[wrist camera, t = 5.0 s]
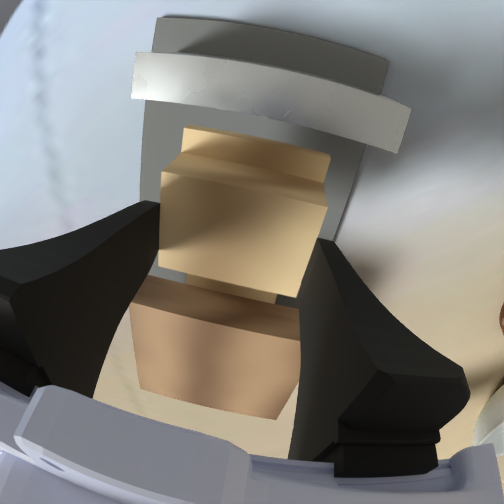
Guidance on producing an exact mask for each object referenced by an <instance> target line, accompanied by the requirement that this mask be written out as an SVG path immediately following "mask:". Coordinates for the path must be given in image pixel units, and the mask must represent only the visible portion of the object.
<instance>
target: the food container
mask: <svg viewBox="0 0 504 504" xmlns="http://www.w3.org/2000/svg"><path fill="white" fill-rule="evenodd" d="M500 326H501V329H502V332H503V335H504V303H503V306H502V308H501V312H500Z"/></svg>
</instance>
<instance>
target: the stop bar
mask: <svg viewBox="0 0 504 504" xmlns="http://www.w3.org/2000/svg"><path fill="white" fill-rule="evenodd" d="M131 98H134V99H145V100H156V101H165V102H174V103H182V104H189V105H196V106H203V107H210V108H216V109H222V110H228V111H234V112H239V113H245V114H250V115H255V116H260V117H265V118H269V119H274V120H279V121H283V122H287V123H292V124H296V125H300V126H304V127H308V128H312V129H316V130H320V131H323V132H327V133H331V134H334V135H338V136H342V137H345V138H348V139H352V140H355V141H358V142H362V143H365V144H368V145H371V146H374V147H378V148H381V149H384V150H387V151H390V152H393V153H396V154H397V153H398V150H399V147H400V144H401V141H402V138H403V135H404V132H405V129H406V126H407V123H408V120H409V117H410V113H411V110H412V109H411V108H409V107H407V106H405V105H403V104H401V103H398V102H396V101H394V100H392V99H390V98H387V97H385V96H383V95H381V94H378V93H375V92H372V91H369V90H366V89H363V88H360V87H356V86H353V85H350V84H347V83H343V82H340V81H336V80H333V79H329V78H326V77H322V76H318V75H314V74H310V73H306V72H302V71H298V70H293V69H289V68H284V67H280V66H275V65H270V64H265V63H259V62H254V61H248V60H242V59H235V58H228V57H221V56H213V55H205V54H195V53H184V52H136V57H135V64H134V73H133V82H132V92H131Z"/></svg>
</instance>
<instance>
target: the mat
mask: <svg viewBox="0 0 504 504" xmlns="http://www.w3.org/2000/svg"><path fill="white" fill-rule="evenodd" d="M152 52H184V53H195V54H205V55H213V56H221V57H228V58H235V59H242V60H248V61H254V62H259V63H265V64H270V65H275V66H280V67H284V68H289V69H293V70H298V71H302V72H306V73H310V74H314V75H318V76H322V77H326V78H329V79H333V80H336V81H340V82H343V83H347V84H350V85H353V86H356V87H360V88H363V89H366V90H369V91H372V92H375V93H378V94H381V90H382V87H383V83H384V79H385V75H386V72H387V68H388V64H389V61H388V60H385V59H382V58H380V57H377V56H374V55H371V54H368V53H365V52H362V51H359V50H356V49H353V48H349V47H346V46H343V45H339V44H336V43H332V42H328V41H325V40H321V39H317V38H313V37H309V36H305V35H300V34H296V33H291V32H286V31H281V30H276V29H271V28H265V27H259V26H253V25H246V24H239V23H231V22H223V21H213V20H201V19H186V18H157V21H156V27H155V33H154V39H153V45H152ZM189 124H190V125H196V126H202V127H208V128H214V129H220V130H225V131H231V132H236V133H241V134H246V135H251V136H256V137H261V138H265V139H270V140H274V141H279V142H283V143H287V144H292V145H296V146H300V147H304V148H308V149H312V150H316V151H320V152H323V153H327V154H329V155H330V158H331V160H330V163H329V166H328V170H327V173H326V176H325V180H324V189H325V194H326V200H327V205H328V209H327V212H326V215H325V217H324V220H323V223H322V226H321V229H320V232H319V235H318V238H322V239H326V240H331V241H333V238H334V236H335V233H336V230H337V227H338V225H339V222H340V219H341V216H342V213H343V211H344V208H345V205H346V202H347V199H348V196H349V193H350V190H351V188H352V185H353V182H354V179H355V176H356V173H357V170H358V166H359V163H360V160H361V157H362V154H363V151H364V148H365V145H366V144H365V143H362V142H358V141H355V140H352V139H348V138H345V137H342V136H338V135H334V134H331V133H327V132H323V131H320V130H316V129H312V128H308V127H304V126H300V125H296V124H292V123H287V122H283V121H279V120H274V119H269V118H265V117H260V116H255V115H250V114H245V113H239V112H234V111H228V110H222V109H216V108H210V107H203V106H196V105H189V104H182V103H174V102H165V101H156V100H146V101H145V112H144V123H143V137H142V153H141V174H140V202H141V201H144V200H148V201H153V202H158V203H160V190H161V173H162V171H163V170H164V169H165V168H166V167H167V166H168V165H169V164H170V163H171V162H172V161H173V160H174V159H175V158H176V157H177V156H178V155H179V154H180V153H181V149H182V140H183V131H184V127H186V126H187V125H189ZM148 275H151V276H155V277H159V278H163V279H167V280H172V281H176V282H180V283H184V284H186V277H187V273H184V272H180V271H176V270H172V269H168V268H164V267H160V266H158V254H157V256H156V258H155V261H154V263H153V265H152V267H151V270H150V272H149V273H148ZM300 287H301V285H300ZM299 298H300V288H299V291H298V293H297V296H296V298H295V297H290V296H286V295H281V294H277V297H276V300H275V303H274V304H277V305H282V306H287V307H292V308H296V309H299Z"/></svg>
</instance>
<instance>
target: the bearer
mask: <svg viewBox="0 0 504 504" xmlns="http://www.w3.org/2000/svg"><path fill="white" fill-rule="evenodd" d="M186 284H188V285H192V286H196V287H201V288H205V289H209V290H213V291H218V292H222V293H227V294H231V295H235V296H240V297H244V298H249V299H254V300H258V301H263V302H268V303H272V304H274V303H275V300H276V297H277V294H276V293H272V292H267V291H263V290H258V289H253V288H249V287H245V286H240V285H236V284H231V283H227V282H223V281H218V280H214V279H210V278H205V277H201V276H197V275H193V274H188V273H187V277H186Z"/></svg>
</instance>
